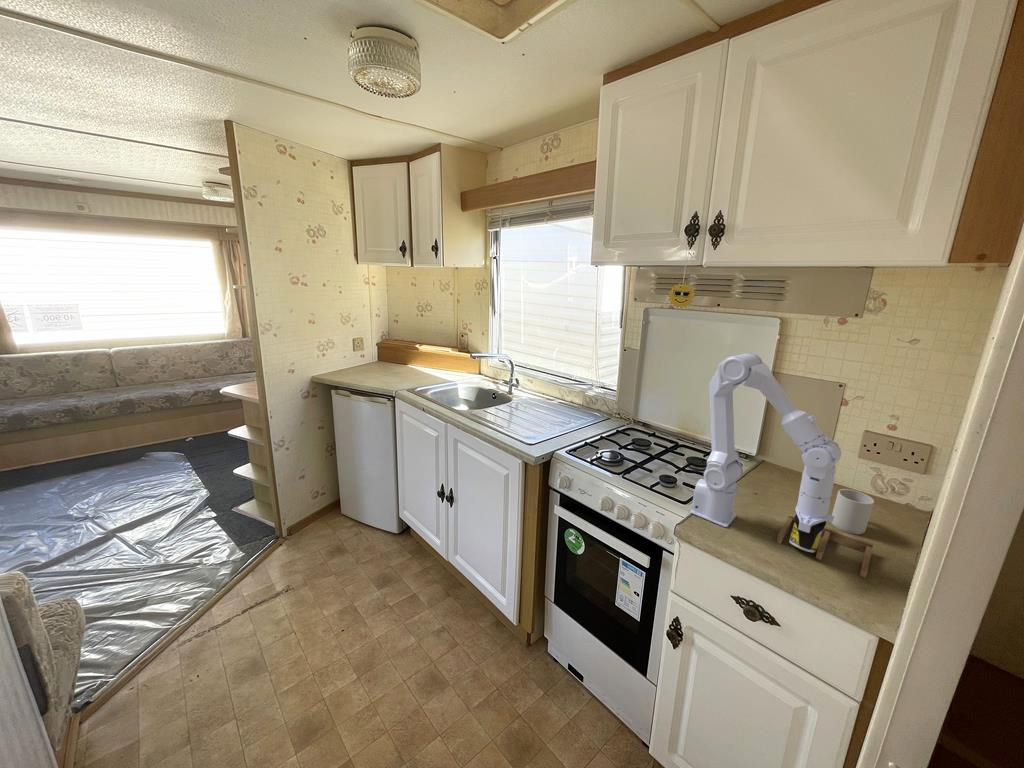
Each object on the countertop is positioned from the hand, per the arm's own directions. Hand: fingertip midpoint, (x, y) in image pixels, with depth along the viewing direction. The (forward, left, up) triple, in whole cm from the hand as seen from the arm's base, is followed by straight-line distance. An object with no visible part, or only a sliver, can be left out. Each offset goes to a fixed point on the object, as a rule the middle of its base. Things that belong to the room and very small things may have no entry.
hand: (805, 547), depth 97 cm
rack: (+3, +7, -2) cm, 8 cm away
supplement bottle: (-1, +2, -2) cm, 3 cm away
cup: (+6, +24, -3) cm, 25 cm away
